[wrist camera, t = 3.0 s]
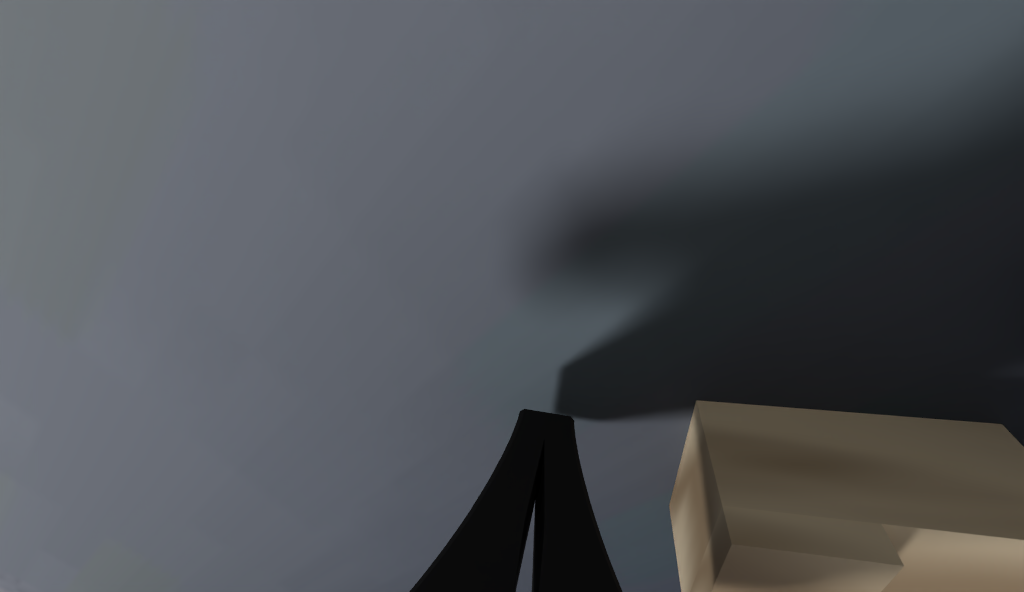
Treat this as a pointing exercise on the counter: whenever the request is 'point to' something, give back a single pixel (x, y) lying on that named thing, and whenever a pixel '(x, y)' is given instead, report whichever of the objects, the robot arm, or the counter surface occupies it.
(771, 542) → the block
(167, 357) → the counter surface
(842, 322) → the counter surface
